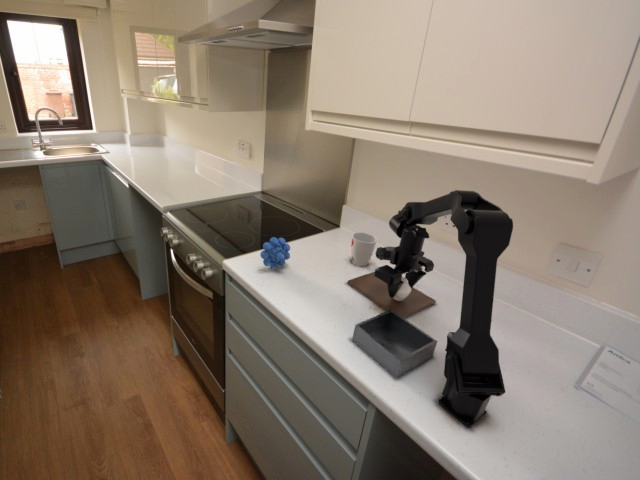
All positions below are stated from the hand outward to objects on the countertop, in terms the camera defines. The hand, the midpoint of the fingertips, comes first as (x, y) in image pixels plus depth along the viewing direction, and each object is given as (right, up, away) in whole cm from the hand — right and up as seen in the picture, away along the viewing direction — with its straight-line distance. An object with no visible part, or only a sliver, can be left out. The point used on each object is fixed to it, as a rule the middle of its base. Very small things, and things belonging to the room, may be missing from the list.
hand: (398, 294), depth 99 cm
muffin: (0, -1, +1) cm, 2 cm away
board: (0, -1, +5) cm, 5 cm away
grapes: (-35, +5, +15) cm, 38 cm away
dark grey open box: (-9, -10, -16) cm, 21 cm away
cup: (-4, +6, +22) cm, 24 cm away
